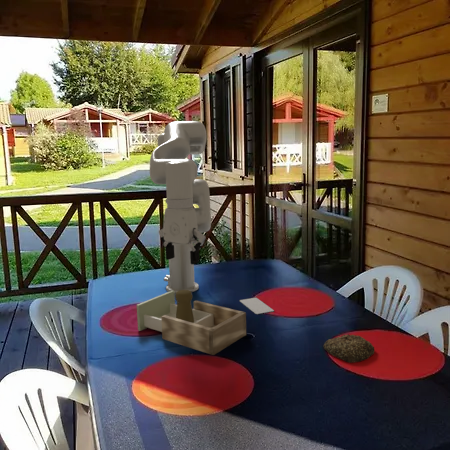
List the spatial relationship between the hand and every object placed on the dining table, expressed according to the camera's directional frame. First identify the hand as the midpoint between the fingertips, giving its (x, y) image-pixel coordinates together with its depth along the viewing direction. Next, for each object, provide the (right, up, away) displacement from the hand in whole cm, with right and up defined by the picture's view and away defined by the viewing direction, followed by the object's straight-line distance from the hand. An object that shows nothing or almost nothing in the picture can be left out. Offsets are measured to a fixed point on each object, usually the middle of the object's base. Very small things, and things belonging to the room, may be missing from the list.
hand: (182, 261), depth 141 cm
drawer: (-2, -21, +6) cm, 22 cm away
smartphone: (+24, -18, +24) cm, 38 cm away
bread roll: (+47, -24, -11) cm, 54 cm away
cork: (0, -20, +4) cm, 21 cm away
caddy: (+7, -22, 0) cm, 23 cm away
